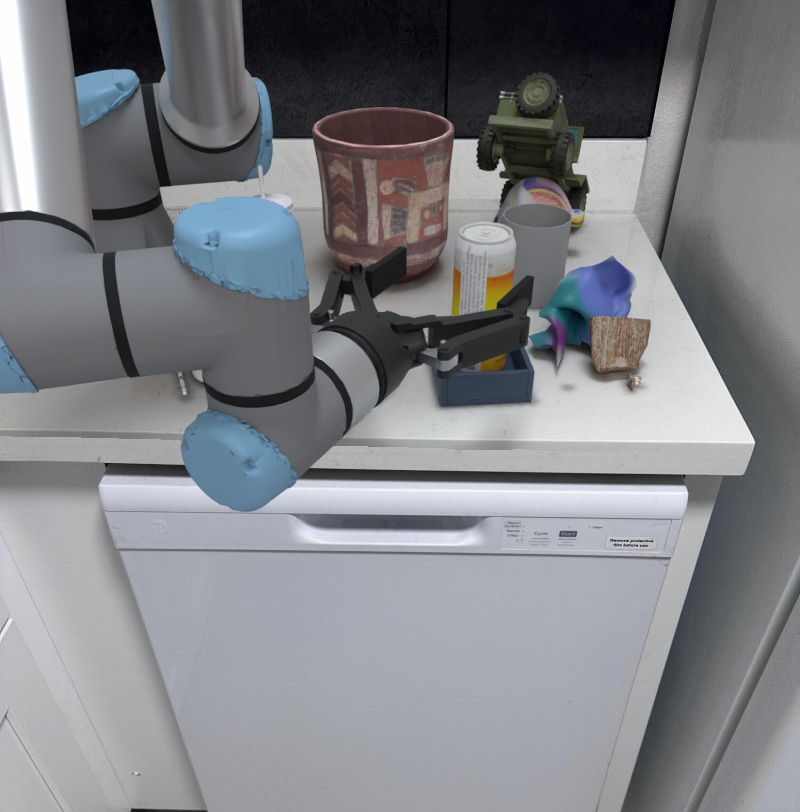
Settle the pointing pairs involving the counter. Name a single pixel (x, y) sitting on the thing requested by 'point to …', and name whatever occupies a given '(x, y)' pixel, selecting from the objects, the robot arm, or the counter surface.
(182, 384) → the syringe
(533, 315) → the counter surface
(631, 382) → the figurine
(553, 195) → the anatomical model
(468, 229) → the beer can
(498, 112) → the toy jeep
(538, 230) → the cup
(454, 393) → the bin
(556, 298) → the figurine
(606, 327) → the stone
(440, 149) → the pottery
